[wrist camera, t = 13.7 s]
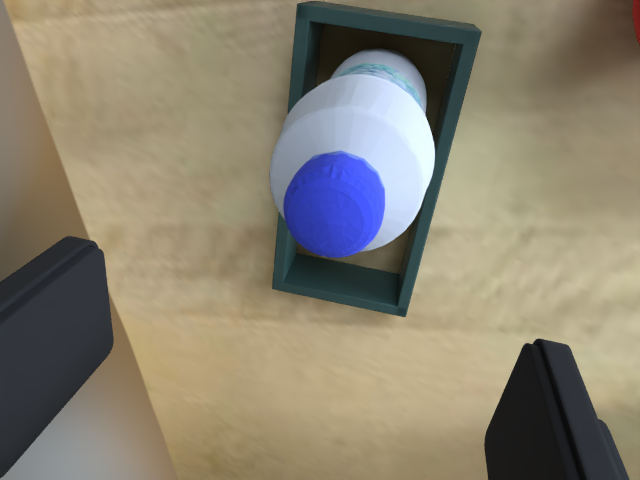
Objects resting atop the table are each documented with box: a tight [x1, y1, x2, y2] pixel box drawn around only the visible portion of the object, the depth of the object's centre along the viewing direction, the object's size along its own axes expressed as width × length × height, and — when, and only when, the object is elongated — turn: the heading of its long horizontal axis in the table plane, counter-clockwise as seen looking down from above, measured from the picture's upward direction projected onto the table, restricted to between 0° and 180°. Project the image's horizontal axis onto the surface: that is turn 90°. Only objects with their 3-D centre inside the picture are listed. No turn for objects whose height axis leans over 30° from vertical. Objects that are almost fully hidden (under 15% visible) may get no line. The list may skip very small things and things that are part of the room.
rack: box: [272, 1, 482, 317], centre depth 33 cm, size 10×19×4 cm, turn 173°
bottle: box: [269, 48, 435, 258], centre depth 24 cm, size 7×7×20 cm
